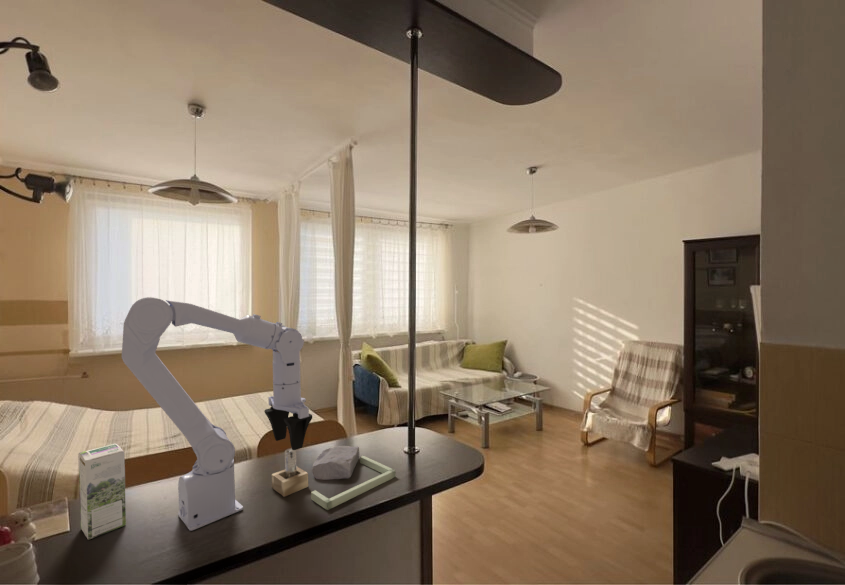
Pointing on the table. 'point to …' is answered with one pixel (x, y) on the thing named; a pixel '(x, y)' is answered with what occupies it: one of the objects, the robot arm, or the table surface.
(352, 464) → the stone block
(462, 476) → the table surface
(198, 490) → the robot arm
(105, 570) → the table surface
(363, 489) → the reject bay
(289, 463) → the cylinder
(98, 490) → the syrup box
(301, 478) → the block
